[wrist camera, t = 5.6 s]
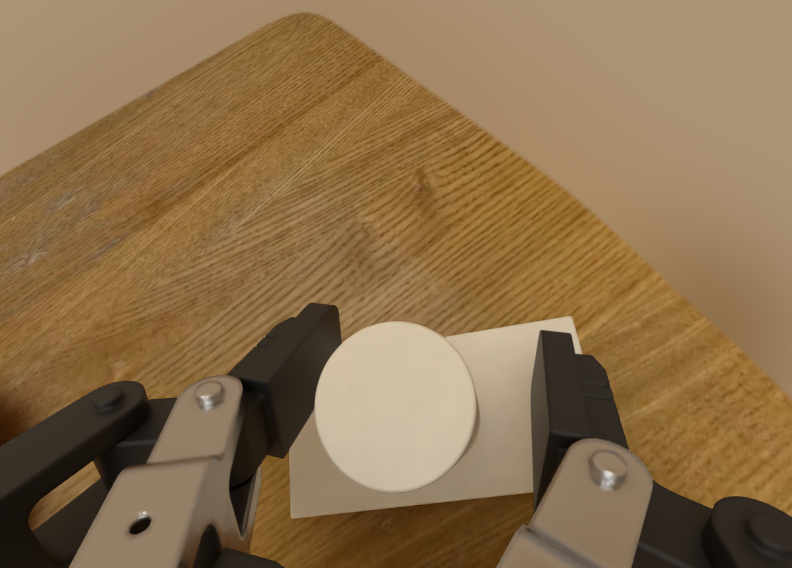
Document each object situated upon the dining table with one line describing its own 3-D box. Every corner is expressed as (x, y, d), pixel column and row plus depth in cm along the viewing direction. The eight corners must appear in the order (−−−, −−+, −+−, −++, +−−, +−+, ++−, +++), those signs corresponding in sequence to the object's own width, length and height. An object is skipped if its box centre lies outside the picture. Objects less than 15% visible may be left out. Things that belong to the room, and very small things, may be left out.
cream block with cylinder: (556, 335, 16) (638, 223, 8) (594, 473, 15) (757, 532, 6) (317, 374, 18) (156, 316, 9) (324, 504, 16) (132, 588, 7)
